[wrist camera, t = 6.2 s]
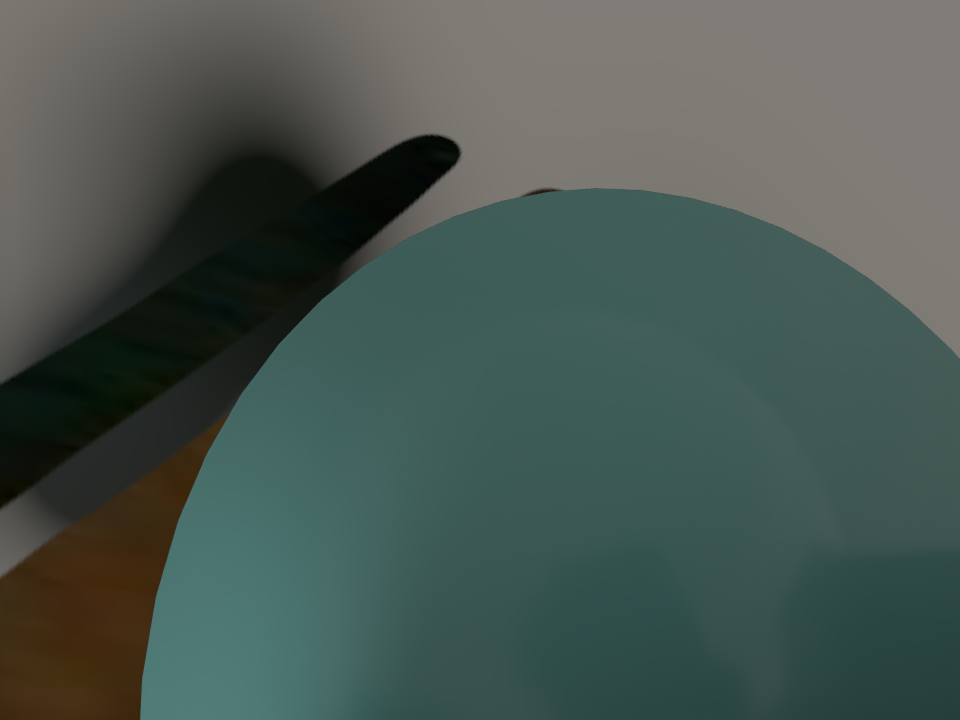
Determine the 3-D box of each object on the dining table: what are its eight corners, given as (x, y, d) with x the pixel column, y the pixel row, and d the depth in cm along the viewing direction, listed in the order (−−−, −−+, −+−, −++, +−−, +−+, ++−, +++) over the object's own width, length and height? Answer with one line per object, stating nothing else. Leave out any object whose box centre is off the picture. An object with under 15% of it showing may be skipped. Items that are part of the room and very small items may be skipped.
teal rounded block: (571, 566, 14) (1371, 1067, 2) (412, 609, 14) (150, 1864, 1) (532, 410, 16) (867, 150, 3) (385, 441, 15) (133, 246, 3)
